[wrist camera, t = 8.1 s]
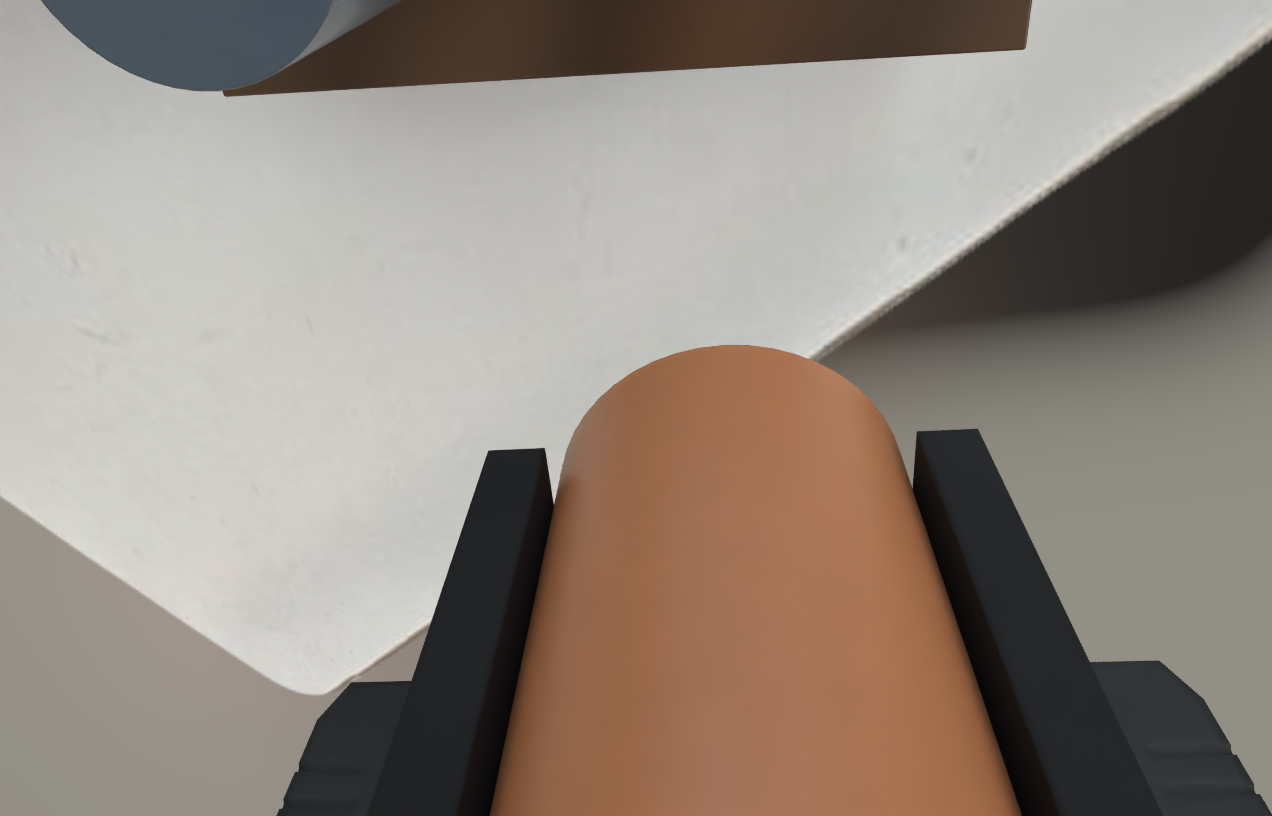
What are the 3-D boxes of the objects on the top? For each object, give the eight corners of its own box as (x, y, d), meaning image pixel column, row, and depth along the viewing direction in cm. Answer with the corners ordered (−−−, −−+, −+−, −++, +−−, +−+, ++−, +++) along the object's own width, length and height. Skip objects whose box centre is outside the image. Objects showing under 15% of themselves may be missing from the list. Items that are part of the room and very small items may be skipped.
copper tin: (539, 352, 13) (211, 1444, 4) (913, 332, 12) (1431, 1502, 4) (581, 625, 15) (433, 1672, 6) (894, 616, 15) (1179, 1725, 6)
